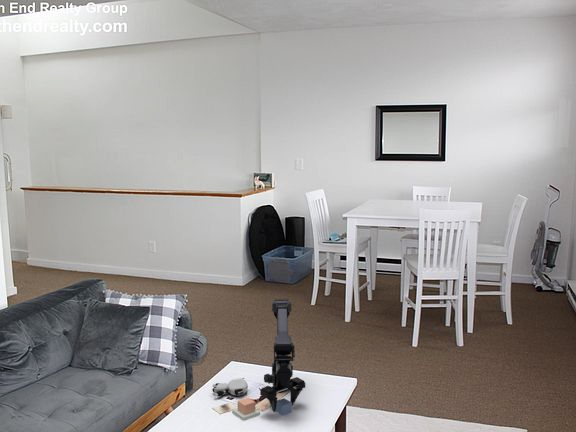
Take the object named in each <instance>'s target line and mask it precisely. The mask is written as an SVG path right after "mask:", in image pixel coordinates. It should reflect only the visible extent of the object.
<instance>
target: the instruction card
mask: <svg viewBox="0 0 576 432" xmlns="http://www.w3.org/2000/svg"><path fill="white" fill-rule="evenodd" d="M237 408H238V405H237V404H235V403H233V402H232V401H231V402H226V403H223V404H221V405H218V406H215V407H214V406H213V407H212V410H214V411H215V412H216V413H218V414H219V415H222V414H225V413H228V412H232V410H234V409H237Z"/></svg>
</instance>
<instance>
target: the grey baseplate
mask: <svg viewBox="0 0 576 432" xmlns="http://www.w3.org/2000/svg"><path fill="white" fill-rule="evenodd" d="M231 412H232V414H233V415H235V416H237V418H239V419H240V420H241V421H247V420H249V419H252V418H254V417H257V416H260V415H261V411H260V410H258V409H257V408H255V412H252V413H249V414H246V415H244V414H242V413H241V412H239V411H238V408H237V409H234V410H231Z"/></svg>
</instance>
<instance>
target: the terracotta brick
mask: <svg viewBox="0 0 576 432" xmlns="http://www.w3.org/2000/svg"><path fill="white" fill-rule="evenodd" d="M237 406H238V411H239V412H241V413H242V414H244V415H246V414H249V413H252V412H255V409H256V401H255V400H253V399H251V397H246V398H241V399H239V400H237Z"/></svg>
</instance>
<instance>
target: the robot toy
mask: <svg viewBox="0 0 576 432" xmlns="http://www.w3.org/2000/svg"><path fill="white" fill-rule="evenodd" d="M212 387H213V388H212V392H213V396H214V397H221V396H225V395H228V394H231V395H232V396H238V397H239V396H242V395H244V394H245V393H247V392H248V382H247V381H246V380H245V377H242V378H236V379H230V381H228V383H227V382H223V383H222V382H221V383H219V382H218V383H217V382H216V383H213V384H212Z"/></svg>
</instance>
